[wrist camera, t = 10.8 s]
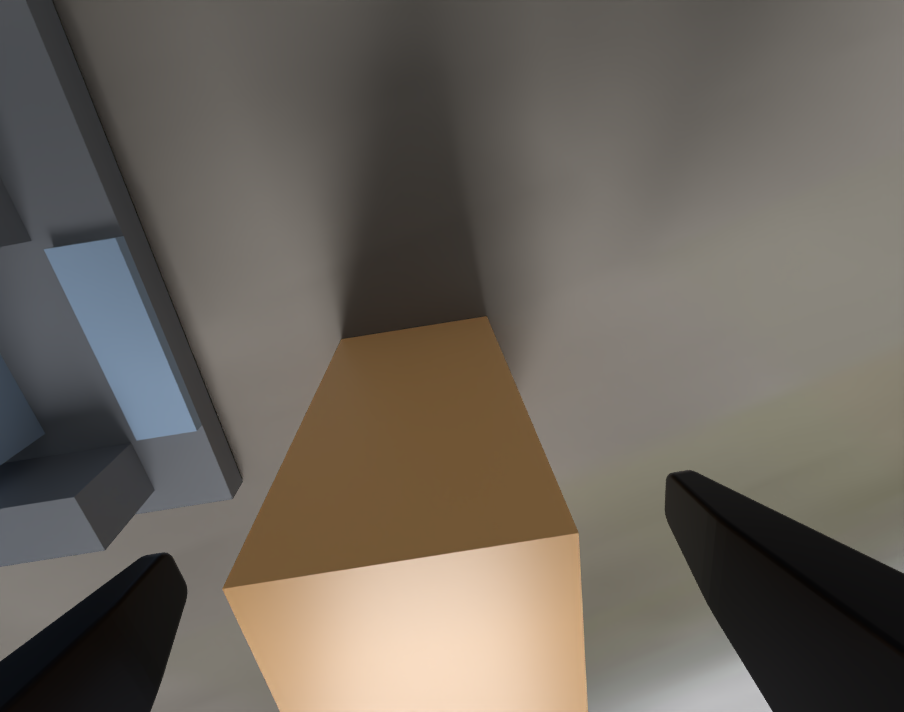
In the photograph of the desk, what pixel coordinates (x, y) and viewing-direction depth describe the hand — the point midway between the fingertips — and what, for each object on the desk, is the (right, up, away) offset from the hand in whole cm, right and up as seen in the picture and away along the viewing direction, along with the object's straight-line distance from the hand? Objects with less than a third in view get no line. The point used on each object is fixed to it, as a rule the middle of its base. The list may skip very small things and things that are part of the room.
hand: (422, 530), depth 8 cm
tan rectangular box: (0, +2, +5) cm, 5 cm away
